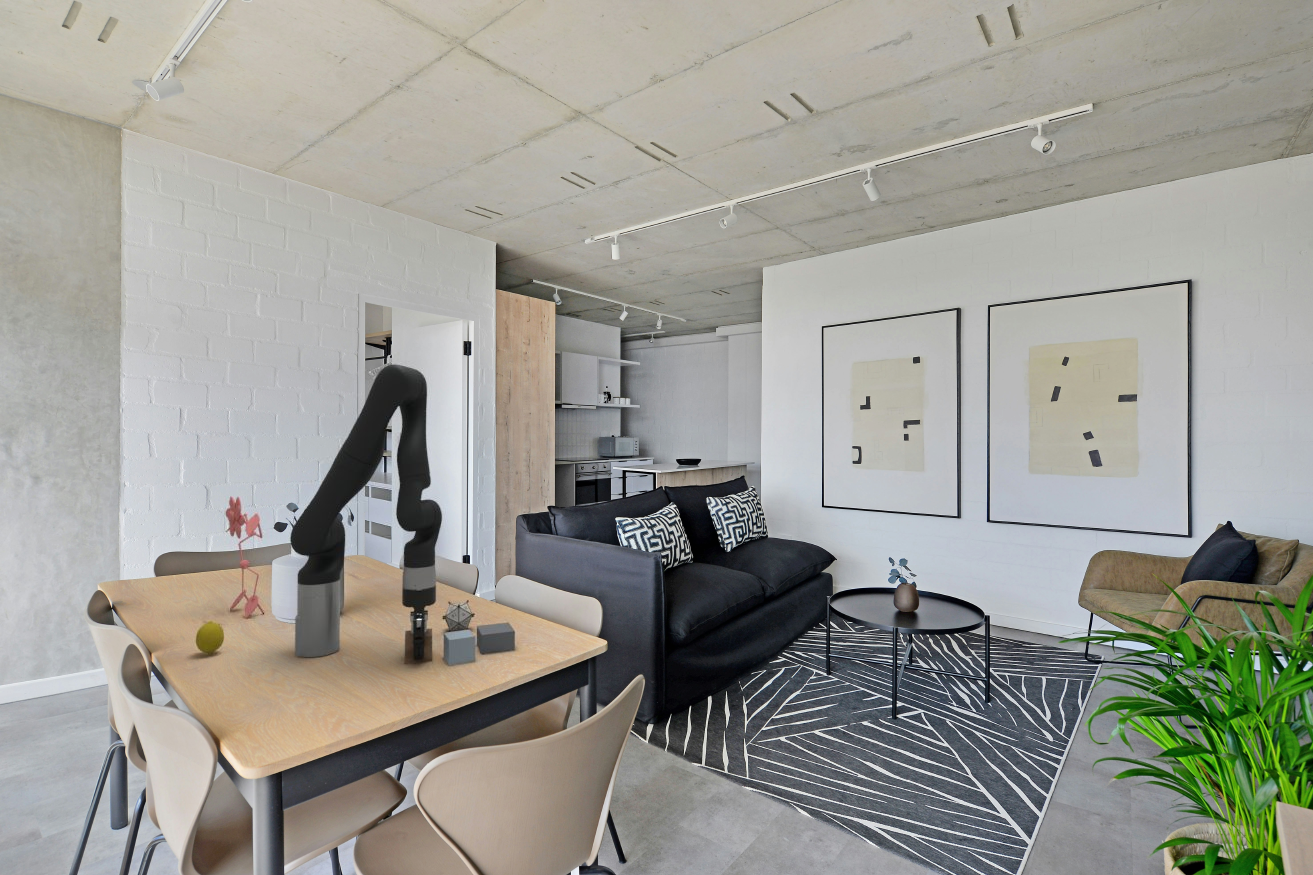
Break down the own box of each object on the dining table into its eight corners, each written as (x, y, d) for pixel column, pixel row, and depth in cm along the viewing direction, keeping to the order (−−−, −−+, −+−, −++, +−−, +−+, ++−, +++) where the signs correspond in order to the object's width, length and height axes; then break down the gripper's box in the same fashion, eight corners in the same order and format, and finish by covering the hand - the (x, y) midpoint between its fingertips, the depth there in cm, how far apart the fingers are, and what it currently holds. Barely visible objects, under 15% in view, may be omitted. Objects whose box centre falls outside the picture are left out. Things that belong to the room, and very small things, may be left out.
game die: (461, 646, 170) (462, 623, 164) (434, 633, 171) (434, 609, 165) (480, 622, 177) (482, 599, 171) (455, 609, 178) (455, 586, 173)
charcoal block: (481, 655, 153) (481, 634, 153) (476, 645, 160) (476, 625, 160) (514, 651, 156) (514, 630, 156) (508, 641, 163) (508, 622, 163)
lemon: (193, 659, 147) (194, 625, 148) (198, 652, 152) (198, 619, 152) (222, 656, 150) (222, 622, 150) (225, 649, 155) (225, 616, 155)
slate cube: (449, 666, 145) (449, 640, 145) (443, 658, 150) (443, 632, 150) (475, 661, 148) (475, 636, 148) (468, 653, 153) (469, 629, 153)
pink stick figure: (247, 602, 198) (245, 491, 197) (278, 618, 181) (276, 497, 180) (188, 613, 186) (186, 495, 186) (214, 632, 169) (212, 502, 169)
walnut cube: (404, 664, 146) (404, 638, 146) (405, 655, 152) (405, 630, 152) (432, 661, 148) (432, 635, 148) (431, 652, 154) (432, 628, 154)
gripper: (403, 578, 155) (402, 647, 155) (401, 592, 142) (400, 667, 142) (435, 576, 158) (435, 643, 158) (436, 589, 144) (436, 663, 144)
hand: (418, 654), depth 150 cm, fingers closed on walnut cube, 6 cm apart
